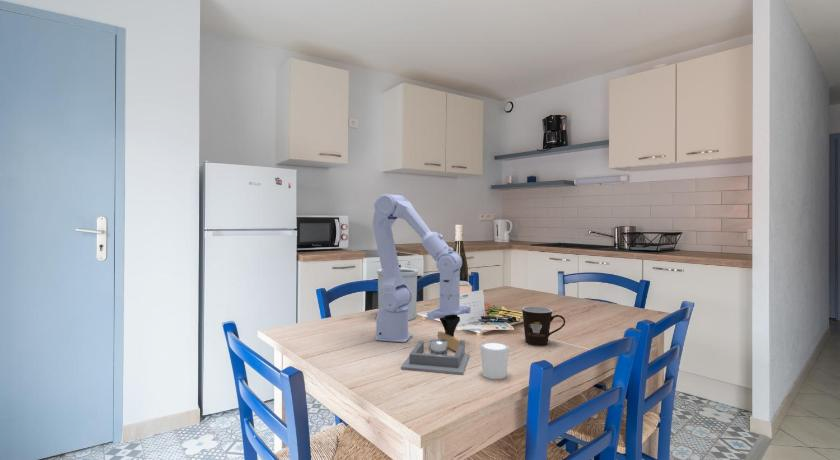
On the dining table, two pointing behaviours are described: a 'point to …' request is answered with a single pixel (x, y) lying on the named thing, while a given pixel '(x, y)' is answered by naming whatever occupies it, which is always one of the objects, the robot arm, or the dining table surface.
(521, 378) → the dining table surface
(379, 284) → the utensil holder
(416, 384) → the dining table surface
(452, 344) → the gate
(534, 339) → the coffee mug
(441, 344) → the steel cylinder
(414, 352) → the housing
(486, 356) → the white cylinder
